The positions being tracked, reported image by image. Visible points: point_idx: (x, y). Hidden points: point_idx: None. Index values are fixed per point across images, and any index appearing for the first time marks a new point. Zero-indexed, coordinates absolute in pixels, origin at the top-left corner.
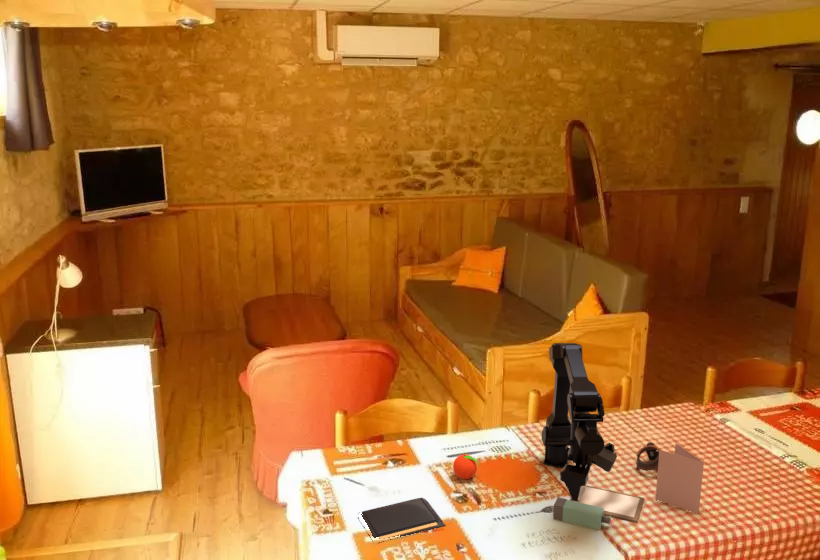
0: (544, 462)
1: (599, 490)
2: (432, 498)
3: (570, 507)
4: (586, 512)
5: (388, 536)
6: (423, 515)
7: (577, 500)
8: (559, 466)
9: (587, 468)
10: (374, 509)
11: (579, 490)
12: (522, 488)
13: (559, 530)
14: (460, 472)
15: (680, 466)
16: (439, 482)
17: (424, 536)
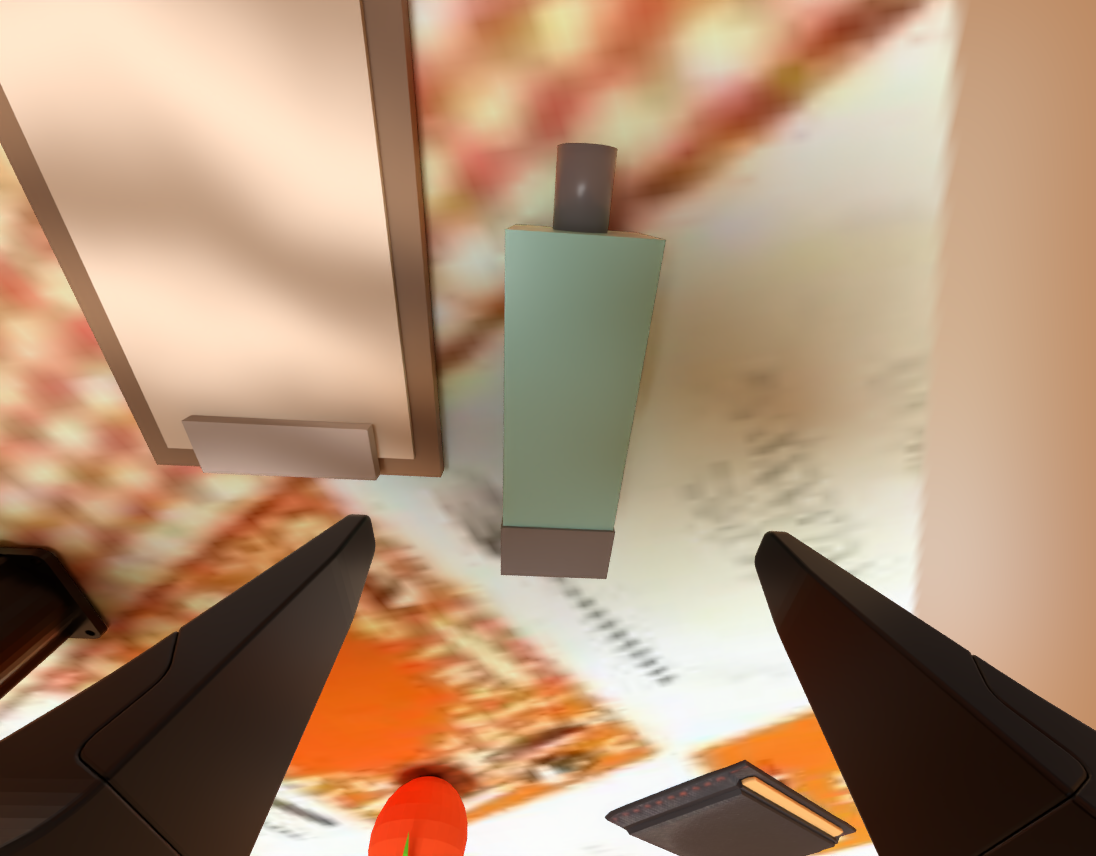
0: (95, 633)
1: (123, 317)
2: (598, 803)
3: (598, 490)
4: (635, 375)
5: (830, 827)
6: (727, 815)
7: (792, 536)
8: (60, 572)
9: (192, 733)
10: None
11: (1031, 695)
12: (390, 651)
13: (699, 466)
14: (466, 837)
15: None
16: (499, 809)
17: (810, 779)
